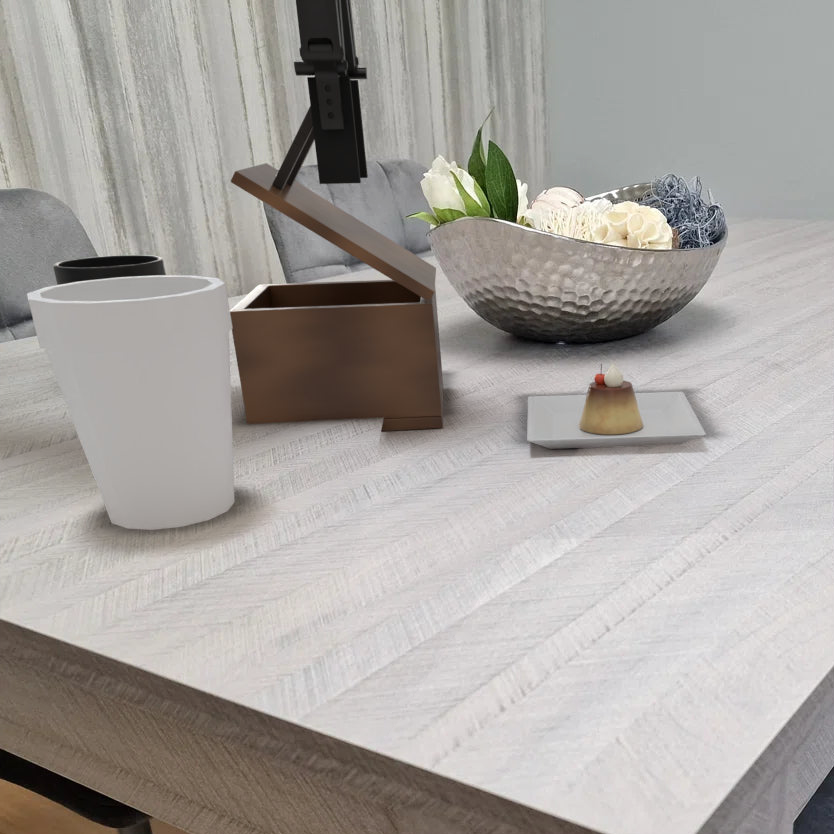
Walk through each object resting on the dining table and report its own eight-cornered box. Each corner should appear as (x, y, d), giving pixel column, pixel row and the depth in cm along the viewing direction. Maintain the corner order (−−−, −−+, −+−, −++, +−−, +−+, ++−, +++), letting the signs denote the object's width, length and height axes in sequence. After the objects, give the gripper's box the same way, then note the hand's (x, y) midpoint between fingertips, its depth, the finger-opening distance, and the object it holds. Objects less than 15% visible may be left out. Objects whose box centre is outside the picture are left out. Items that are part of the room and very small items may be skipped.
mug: (67, 379, 93) (43, 274, 89) (80, 353, 103) (58, 258, 99) (179, 370, 96) (160, 267, 92) (181, 345, 106) (164, 252, 102)
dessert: (528, 410, 80) (525, 347, 78) (682, 405, 81) (683, 343, 79) (527, 456, 70) (524, 385, 68) (705, 450, 70) (707, 379, 68)
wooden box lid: (229, 181, 68) (292, 49, 65) (261, 172, 79) (315, 59, 77) (429, 302, 72) (495, 183, 70) (431, 276, 84) (488, 173, 81)
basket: (249, 438, 75) (228, 311, 71) (275, 395, 86) (259, 284, 82) (442, 428, 76) (432, 303, 73) (443, 387, 88) (434, 278, 84)
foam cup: (290, 501, 62) (256, 275, 57) (211, 561, 54) (163, 304, 48) (145, 495, 64) (98, 274, 58) (47, 552, 55) (-18, 302, 50)
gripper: (350, -271, 56) (391, 187, 66) (373, -181, 74) (403, 172, 83) (207, -275, 56) (270, 190, 65) (264, -183, 73) (307, 174, 82)
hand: (344, 179), depth 74 cm, fingers closed on wooden box lid, 6 cm apart
